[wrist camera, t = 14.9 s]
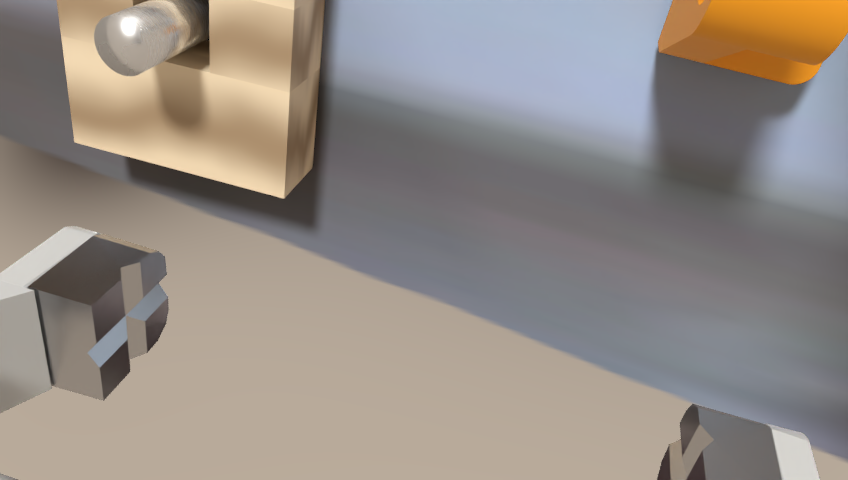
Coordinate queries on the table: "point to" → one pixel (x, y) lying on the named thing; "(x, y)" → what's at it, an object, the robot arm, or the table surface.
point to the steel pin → (150, 33)
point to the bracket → (757, 35)
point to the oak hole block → (206, 93)
